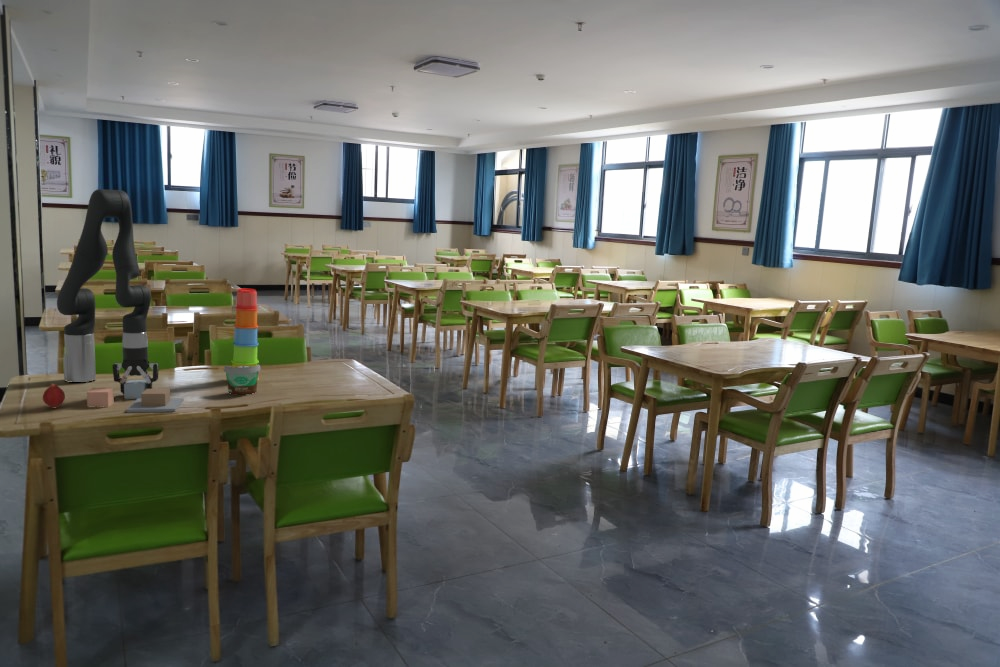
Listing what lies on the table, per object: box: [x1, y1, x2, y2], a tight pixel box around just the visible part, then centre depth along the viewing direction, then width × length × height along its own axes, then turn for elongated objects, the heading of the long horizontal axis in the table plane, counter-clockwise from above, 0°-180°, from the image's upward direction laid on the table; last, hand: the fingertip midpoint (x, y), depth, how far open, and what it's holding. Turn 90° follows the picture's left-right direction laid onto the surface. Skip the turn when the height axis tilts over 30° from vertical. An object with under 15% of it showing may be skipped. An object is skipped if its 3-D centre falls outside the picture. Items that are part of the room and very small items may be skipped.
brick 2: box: [123, 379, 147, 400], centre depth 246 cm, size 6×6×5 cm
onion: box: [42, 383, 66, 408], centre depth 227 cm, size 6×6×8 cm
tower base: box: [126, 388, 185, 413], centre depth 235 cm, size 14×14×5 cm
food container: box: [223, 364, 261, 396], centre depth 256 cm, size 12×6×10 cm, turn 117°
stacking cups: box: [230, 287, 260, 381], centre depth 275 cm, size 10×10×35 cm
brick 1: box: [86, 387, 115, 408], centre depth 234 cm, size 6×6×5 cm
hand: (136, 393), depth 247 cm, fingers open, 7 cm apart
